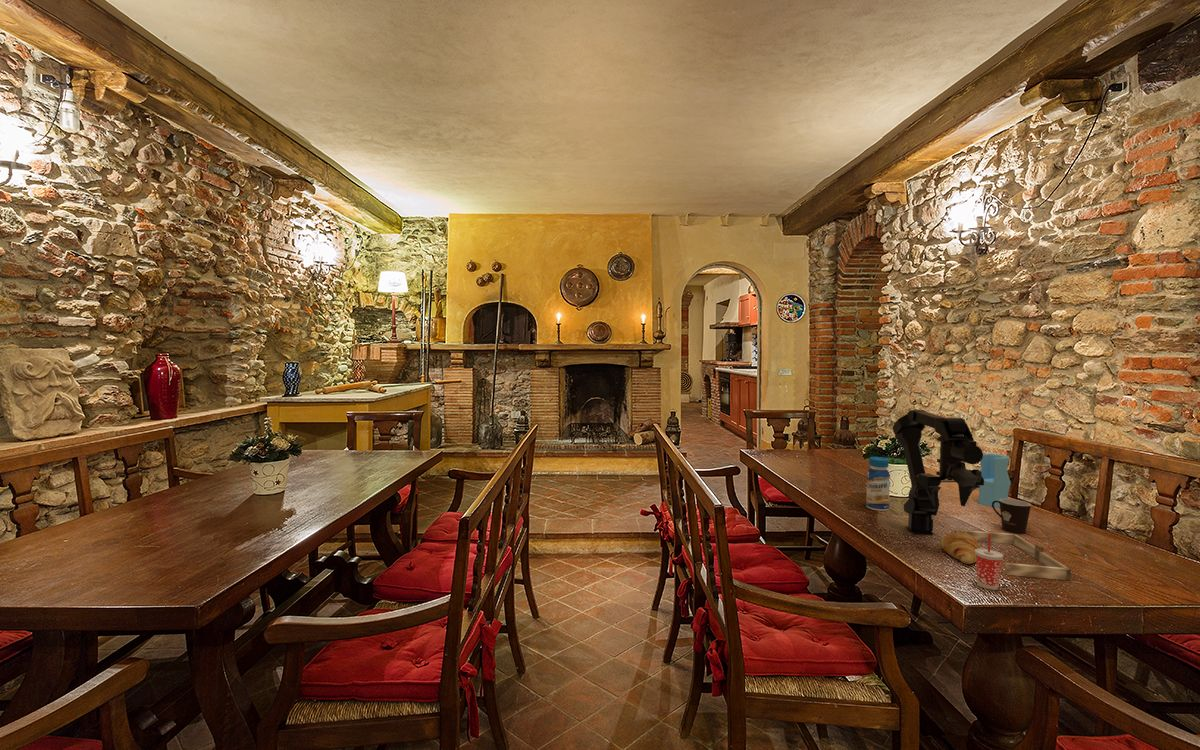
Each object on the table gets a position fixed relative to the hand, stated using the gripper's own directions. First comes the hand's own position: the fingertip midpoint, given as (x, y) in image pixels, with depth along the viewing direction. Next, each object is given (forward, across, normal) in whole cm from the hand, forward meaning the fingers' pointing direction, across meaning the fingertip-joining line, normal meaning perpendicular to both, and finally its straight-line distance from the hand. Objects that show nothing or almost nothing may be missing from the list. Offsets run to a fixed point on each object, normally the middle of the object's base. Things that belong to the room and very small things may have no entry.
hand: (949, 506), depth 165 cm
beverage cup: (+14, -9, -26) cm, 30 cm away
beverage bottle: (+14, +3, +41) cm, 43 cm away
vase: (+14, +53, +43) cm, 69 cm away
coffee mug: (+14, +35, +15) cm, 40 cm away
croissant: (+14, 0, -4) cm, 15 cm away
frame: (+14, +14, -9) cm, 21 cm away
